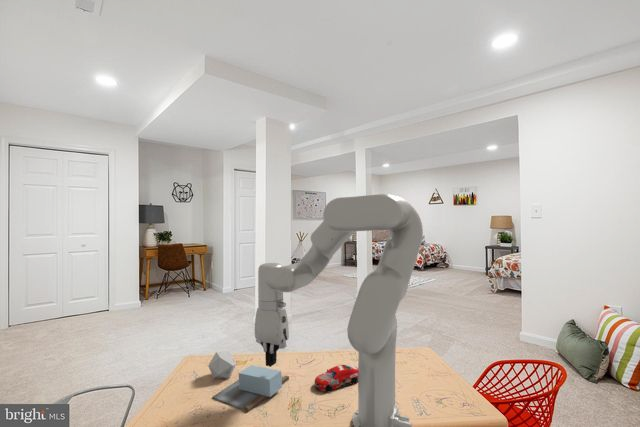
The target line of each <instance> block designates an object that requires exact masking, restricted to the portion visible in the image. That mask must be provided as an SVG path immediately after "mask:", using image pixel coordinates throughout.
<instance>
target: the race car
mask: <svg viewBox="0 0 640 427" xmlns="http://www.w3.org/2000/svg"><path fill="white" fill-rule="evenodd" d="M357 382H358V367H357V366H355V365H352V364H339V365H336V366H333V367H330V368H329V369H326V371H325V372H323V373H321V374H319V375H317V376H316V377H315V379H314V387H315V389H317V390H319V391H320V392H326V393H329V392H331V391H333V390H336V389H339V388H342V387H345V386H349V385H355V384H357Z"/></svg>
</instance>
